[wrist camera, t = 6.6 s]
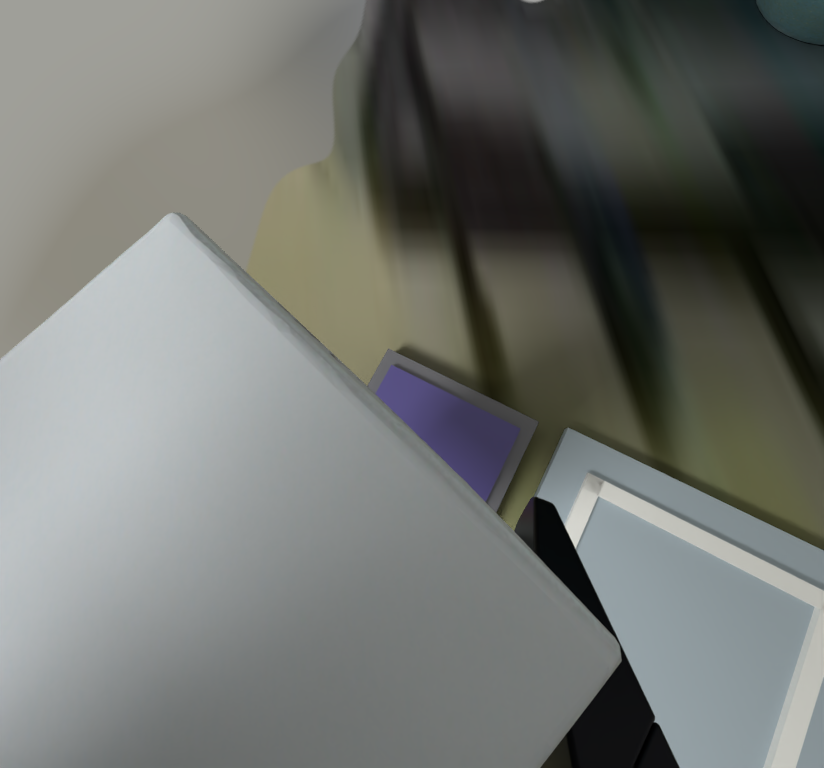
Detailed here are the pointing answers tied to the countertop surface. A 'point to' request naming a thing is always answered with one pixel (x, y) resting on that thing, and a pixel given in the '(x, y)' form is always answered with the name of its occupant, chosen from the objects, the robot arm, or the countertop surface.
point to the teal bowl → (796, 18)
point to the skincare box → (254, 551)
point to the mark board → (700, 608)
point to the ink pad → (456, 423)
